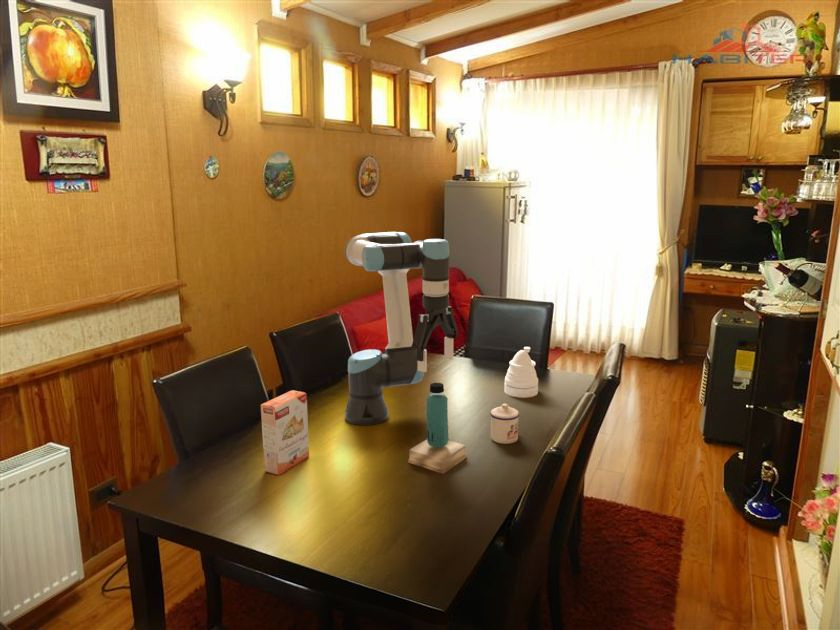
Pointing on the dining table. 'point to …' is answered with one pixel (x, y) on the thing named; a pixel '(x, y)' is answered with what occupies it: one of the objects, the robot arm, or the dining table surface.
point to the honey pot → (521, 376)
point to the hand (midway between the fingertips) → (435, 364)
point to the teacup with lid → (504, 424)
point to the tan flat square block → (437, 456)
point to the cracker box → (285, 431)
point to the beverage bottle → (437, 416)
